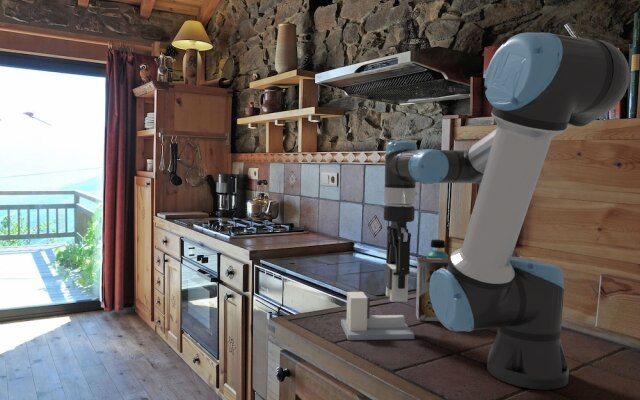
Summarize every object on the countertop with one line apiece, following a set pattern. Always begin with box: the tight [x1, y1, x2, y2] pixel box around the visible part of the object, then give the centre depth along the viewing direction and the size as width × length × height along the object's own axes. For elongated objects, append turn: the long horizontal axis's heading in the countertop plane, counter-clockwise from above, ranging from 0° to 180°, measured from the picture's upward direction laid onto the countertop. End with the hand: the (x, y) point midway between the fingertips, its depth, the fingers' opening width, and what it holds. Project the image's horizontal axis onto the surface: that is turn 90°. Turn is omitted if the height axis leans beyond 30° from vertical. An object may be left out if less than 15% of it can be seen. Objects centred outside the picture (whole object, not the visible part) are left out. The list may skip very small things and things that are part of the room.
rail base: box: [340, 291, 415, 341], centre depth 125 cm, size 12×16×9 cm
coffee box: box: [415, 257, 450, 322], centre depth 137 cm, size 9×6×16 cm
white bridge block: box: [383, 263, 409, 303], centre depth 125 cm, size 6×5×8 cm
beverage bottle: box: [426, 239, 449, 258], centre depth 147 cm, size 6×7×20 cm
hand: (396, 297), depth 126 cm, fingers closed on white bridge block, 6 cm apart
